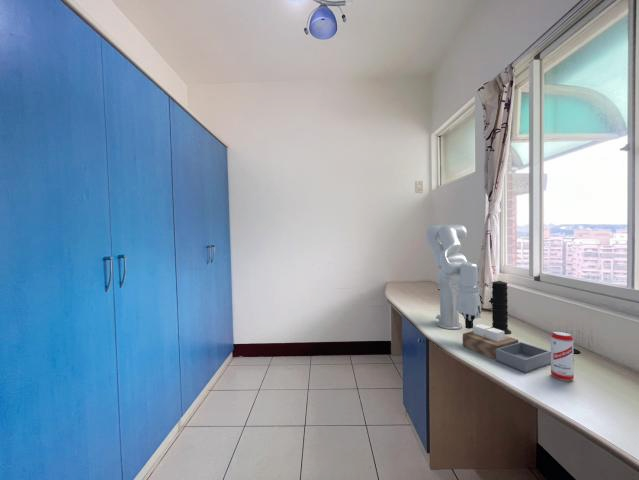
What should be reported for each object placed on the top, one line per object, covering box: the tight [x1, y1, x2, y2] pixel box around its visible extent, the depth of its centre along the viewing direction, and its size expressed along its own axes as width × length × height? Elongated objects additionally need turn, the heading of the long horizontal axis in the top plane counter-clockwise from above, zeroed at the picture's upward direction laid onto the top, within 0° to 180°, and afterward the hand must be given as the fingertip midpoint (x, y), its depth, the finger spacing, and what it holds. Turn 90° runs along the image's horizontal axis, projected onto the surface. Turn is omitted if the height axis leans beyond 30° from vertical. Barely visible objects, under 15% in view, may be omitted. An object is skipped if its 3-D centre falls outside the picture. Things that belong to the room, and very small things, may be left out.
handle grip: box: [490, 280, 512, 335], centre depth 149 cm, size 10×26×10 cm
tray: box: [495, 341, 551, 374], centre depth 114 cm, size 11×16×5 cm
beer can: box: [550, 330, 575, 382], centre depth 102 cm, size 6×6×16 cm
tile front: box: [486, 328, 505, 341], centre depth 124 cm, size 5×5×4 cm
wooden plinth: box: [462, 331, 519, 361], centre depth 126 cm, size 16×14×6 cm
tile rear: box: [472, 323, 492, 337], centre depth 129 cm, size 5×5×4 cm
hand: (469, 327), depth 135 cm, fingers closed
